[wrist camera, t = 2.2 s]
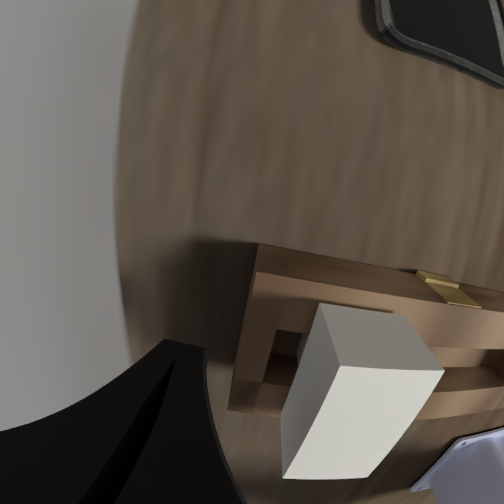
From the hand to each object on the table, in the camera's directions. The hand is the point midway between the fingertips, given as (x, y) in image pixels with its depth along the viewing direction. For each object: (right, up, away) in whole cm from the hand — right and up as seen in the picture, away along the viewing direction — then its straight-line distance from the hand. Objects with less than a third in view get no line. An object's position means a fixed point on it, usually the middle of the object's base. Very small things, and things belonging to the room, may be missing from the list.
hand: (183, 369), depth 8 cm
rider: (+5, 0, +3) cm, 6 cm away
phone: (+11, +19, -1) cm, 22 cm away
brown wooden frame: (+10, 0, +4) cm, 11 cm away
